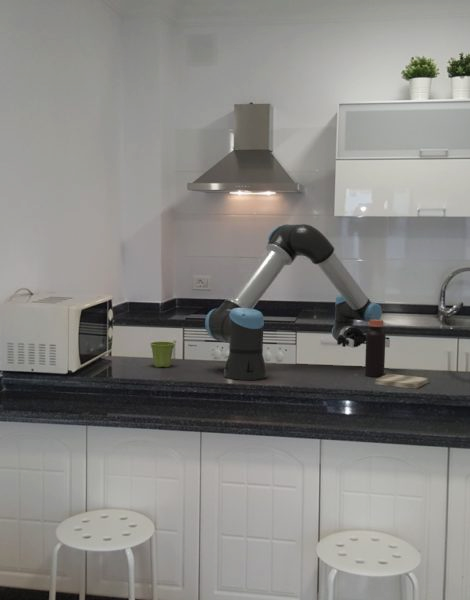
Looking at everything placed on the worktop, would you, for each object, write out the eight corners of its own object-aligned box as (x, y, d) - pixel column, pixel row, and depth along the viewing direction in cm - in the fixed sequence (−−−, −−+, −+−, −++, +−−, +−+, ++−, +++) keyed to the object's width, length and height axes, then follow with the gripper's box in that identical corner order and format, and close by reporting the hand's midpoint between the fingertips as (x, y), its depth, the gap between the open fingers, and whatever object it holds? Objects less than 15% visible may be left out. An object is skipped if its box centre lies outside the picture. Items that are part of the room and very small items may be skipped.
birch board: (374, 384, 237) (374, 379, 237) (388, 378, 249) (388, 373, 249) (416, 388, 230) (416, 384, 230) (428, 382, 242) (428, 378, 242)
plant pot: (179, 365, 267) (180, 343, 266) (164, 369, 259) (164, 345, 258) (160, 363, 272) (160, 340, 271) (144, 366, 264) (144, 343, 263)
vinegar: (363, 376, 251) (365, 320, 250) (366, 373, 258) (368, 318, 256) (382, 378, 249) (384, 321, 248) (385, 375, 255) (387, 319, 254)
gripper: (381, 346, 281) (402, 353, 260) (320, 346, 276) (337, 354, 256) (382, 327, 280) (403, 333, 259) (321, 327, 276) (338, 333, 255)
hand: (370, 343), depth 257 cm, fingers open, 13 cm apart
